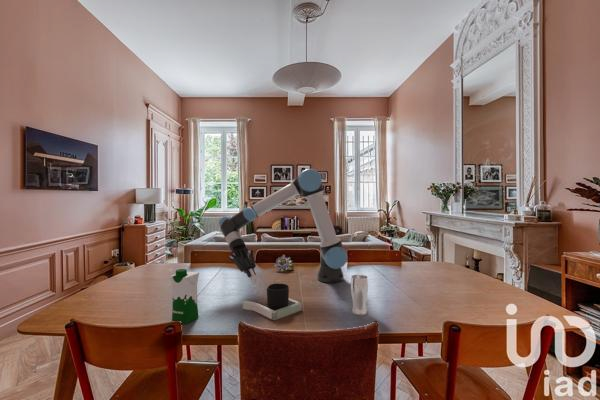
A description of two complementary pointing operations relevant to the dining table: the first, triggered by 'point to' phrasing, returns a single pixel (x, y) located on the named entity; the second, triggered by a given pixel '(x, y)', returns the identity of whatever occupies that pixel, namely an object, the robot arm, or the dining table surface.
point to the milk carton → (184, 296)
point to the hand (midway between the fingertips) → (255, 282)
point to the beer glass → (359, 294)
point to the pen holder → (277, 296)
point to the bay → (274, 315)
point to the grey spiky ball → (283, 263)
